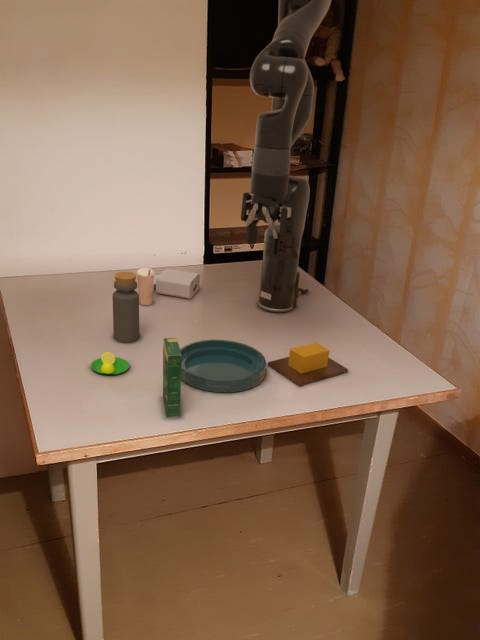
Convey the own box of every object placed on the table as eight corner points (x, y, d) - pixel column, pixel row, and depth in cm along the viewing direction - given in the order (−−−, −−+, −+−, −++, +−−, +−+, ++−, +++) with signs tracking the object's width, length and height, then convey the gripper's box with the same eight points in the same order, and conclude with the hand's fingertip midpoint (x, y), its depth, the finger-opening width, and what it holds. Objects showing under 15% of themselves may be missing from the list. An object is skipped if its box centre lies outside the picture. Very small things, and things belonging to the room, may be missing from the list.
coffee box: (161, 396, 133) (162, 336, 126) (176, 396, 133) (177, 336, 126) (165, 418, 126) (166, 355, 119) (180, 417, 127) (182, 355, 120)
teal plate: (231, 345, 155) (232, 333, 154) (282, 380, 143) (284, 367, 141) (159, 362, 145) (159, 349, 144) (207, 401, 133) (208, 388, 131)
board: (315, 352, 155) (315, 349, 155) (347, 372, 148) (348, 369, 148) (267, 365, 148) (267, 362, 148) (299, 386, 141) (299, 383, 140)
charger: (148, 280, 187) (199, 288, 184) (135, 291, 179) (189, 300, 177) (148, 264, 184) (200, 272, 182) (135, 274, 177) (190, 283, 174)
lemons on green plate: (85, 363, 142) (85, 351, 141) (120, 356, 146) (120, 345, 145) (99, 379, 137) (98, 367, 135) (135, 372, 141) (135, 360, 139)
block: (313, 358, 151) (315, 342, 149) (327, 366, 148) (329, 350, 146) (287, 365, 147) (289, 348, 145) (301, 373, 144) (303, 357, 142)
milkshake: (140, 308, 170) (140, 270, 165) (134, 300, 174) (134, 263, 169) (158, 306, 172) (158, 268, 166) (151, 299, 176) (152, 261, 170)
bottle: (134, 344, 152) (133, 281, 144) (109, 340, 153) (107, 277, 145) (142, 334, 157) (142, 272, 149) (118, 330, 158) (117, 269, 150)
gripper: (308, 176, 131) (298, 257, 139) (263, 161, 140) (256, 237, 149) (278, 179, 127) (271, 262, 136) (234, 163, 136) (229, 242, 145)
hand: (263, 249), depth 142 cm, fingers open, 8 cm apart
